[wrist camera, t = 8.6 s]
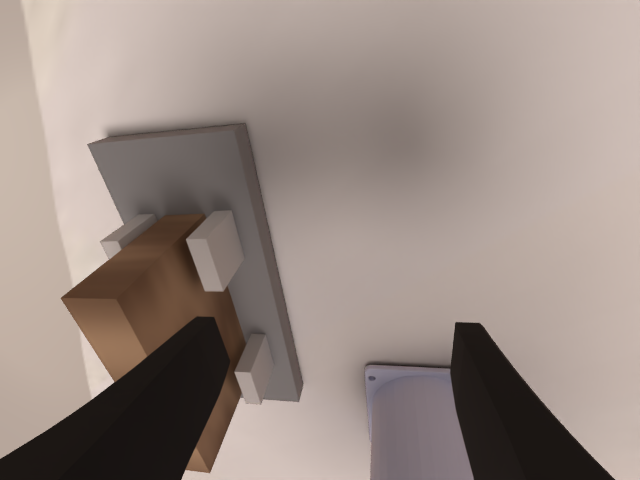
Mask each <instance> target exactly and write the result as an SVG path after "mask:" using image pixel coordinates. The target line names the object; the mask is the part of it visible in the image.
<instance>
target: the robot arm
mask: <svg viewBox="0 0 640 480" xmlns="http://www.w3.org/2000/svg"><path fill="white" fill-rule="evenodd" d="M229 365H230V359H229V356H228V353H227V350H226V348H225V345H224V342H223V340H222V337H221V334H220V331H219V329H218V326H217V323H216V320H215V318H214V317H202V316H197V317H195V318H194V319H193V320H191V321H190V322H189V323H187V324H186V325H185V326H184V327H183V328H181V329H180V330H179V331H178V332H176V333H175V334H174V335H173V336H172V337H170V338H169V339H168V340H167V341H166V342H164V343H163V344H162V345H161V346H160V347H158V348H157V349H156V350H155V351H153V352H152V353H151V354H150V355H149V356H147V357H146V358H145V359H144V360H142V361H141V362H140V363H139V364H138V365H136V366H135V367H134V368H133V369H131V370H130V371H129V372H127V373H126V374H125V375H124V376H122V377H121V378H120V379H118V380H117V381H116V382H114V383H113V384H112V385H111V386H109V387H108V388H107V389H105V390H104V391H103V392H101V393H100V394H99V395H98V396H96V397H95V398H93V399H92V400H91V401H90V402H88V403H87V404H85V405H84V406H82V407H81V408H79V409H78V410H77V411H75V412H74V413H72V414H71V415H69V416H68V417H66V418H65V419H63V420H62V421H60V422H59V423H57V424H56V425H54V426H53V427H52V428H50V429H48V430H47V431H45V432H44V433H42V434H40V435H39V436H37V437H35V438H34V439H32V440H31V441H29V442H27V443H26V444H24V445H22V446H21V447H19V448H18V449H16V450H14V451H13V452H11V453H10V454H8V455H6V456H5V457H3V458H1V459H0V480H181V479H182V476H183V474H184V472H185V469H186V467H187V465H188V463H189V460H190V458H191V456H192V454H193V452H194V450H195V447H196V445H197V443H198V441H199V439H200V437H201V435H202V432H203V430H204V428H205V426H206V424H207V422H208V419H209V417H210V415H211V413H212V411H213V408H214V406H215V404H216V402H217V400H218V397H219V395H220V393H221V390H222V387H223V384H224V381H225V378H226V374H227V371H228V368H229ZM365 385H366V398H367V410H368V423H369V435H370V442H371V471H370V480H615V479H614V478H613V477H612V476H611V475H610V474H609V473H608V472H607V471H606V470H605V469H604V468H603V467H602V466H601V465H600V464H599V463H598V462H597V461H596V460H595V459H594V458H593V457H592V456H591V455H590V454H589V453H588V452H587V451H586V450H585V449H584V448H583V447H582V445H581V444H580V443H579V442H578V441H577V440H576V439H575V438H574V437H573V436H572V435H571V434H570V433H569V431H568V430H567V429H566V428H565V427H564V426H563V425H562V424H561V423H560V422H559V420H558V419H557V418H556V417H555V416H554V415H553V414H552V413H551V411H550V410H549V409H548V408H547V407H546V406H545V405H544V403H543V402H542V401H541V400H540V399H539V398H538V396H537V395H536V394H535V393H534V392H533V390H532V389H531V388H530V387H529V386H528V384H527V383H526V382H525V381H524V380H523V378H522V377H521V376H520V375H519V373H518V372H517V371H516V370H515V368H514V367H513V366H512V365H511V363H510V362H509V361H508V359H507V358H506V357H505V355H504V354H503V353H502V352H501V350H500V349H499V348H498V346H497V345H496V343H495V342H494V341H493V339H492V338H491V337H490V335H489V334H488V332H487V331H486V330H485V328H484V327H483V326H482V325H481V324H480V323H463V322H456V323H455V332H454V341H453V350H452V359H451V368H450V369H447V368H427V367H406V366H386V365H368V366H366V367H365Z"/></svg>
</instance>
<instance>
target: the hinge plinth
mask: <svg viewBox="0 0 640 480" xmlns="http://www.w3.org/2000/svg"><path fill="white" fill-rule="evenodd" d="M87 145H88V147H89V149H90V151H91V153H92V156H93V158H94V160H95V162H96V164H97V166H98V169H99V171H100V173H101V175H102V177H103V179H104V182H105V184H106V186H107V188H108V190H109V192H110V195H111V197H112V199H113V201H114V203H115V206H116V208H117V210H118V212H119V214H120V216H121V219H122V221H123V223H124V225H123V226H121V227H120V228H119V229H117V230H116V231H114V232H113V233H112V234H110V235H109V236H107V237H106V238H104V239H103V240H102V241H100V243H101V245H102V247H103V249H104V251H105V253H106V255H107V257H108V259H111V258H112V257H113V256H114V255H116V254H117V253H118V252H119V251H121V250H122V249H123V248H124V247H126V246H127V245H128V244H129V243H131V242H132V241H133V240H134V239H136V238H137V237H138V236H139V235H141V234H142V233H143V232H145V231H146V230H147V229H148V228H150V227H151V226H152V225H153V224H155V223H156V222H157V221H158V220H160V219H161V218H162V217H163V216H165V215H185V214H205V216H206V220H205V221H204V222H203V223H202V224H201V225H200V226H199V227H198V228H197V229H196V230H195V231H194V232H193V233H192V234H191V235H190V236H189V237H188V238H187V239H186V241H187V244H188V247H189V249H190V252H191V255H192V258H193V260H194V263H195V266H196V268H197V271H198V274H199V277H200V279H201V282H202V285H203V288H204V290H205V291H224V290H225V288H226V287H227V285H228V289H229V292H230V295H231V298H232V301H233V304H234V307H235V310H236V314H237V317H238V320H239V323H240V326H241V329H242V332H243V336H244V339H245V342H246V347H245V349H244V351H243V353H242V356H241V358H240V360H239V362H238V365H237V367H236V369H235V371H234V372H235V375H236V378H237V380H238V383H239V386H240V389H241V391H242V394H241V397H240V398H244V399H245V402H246V404H259V405H261V403H262V400H263V399H266V400H280V401H294V402H299V400H300V396H301V391H302V387H303V382H302V377H301V373H300V368H299V364H298V359H297V355H296V350H295V346H294V341H293V337H292V332H291V328H290V323H289V319H288V314H287V310H286V305H285V301H284V296H283V291H282V287H281V282H280V278H279V273H278V269H277V264H276V260H275V255H274V251H273V246H272V242H271V237H270V233H269V228H268V224H267V219H266V215H265V210H264V206H263V201H262V197H261V192H260V187H259V183H258V178H257V174H256V169H255V165H254V160H253V156H252V151H251V147H250V142H249V138H248V133H247V129H246V124H236V125H226V126H216V127H206V128H196V129H186V130H176V131H165V132H155V133H145V134H135V135H125V136H115V137H107V138H104V139H101V140H98V141H95V142H93V143H90V144H87Z"/></svg>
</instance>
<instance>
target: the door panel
mask: <svg viewBox="0 0 640 480" xmlns="http://www.w3.org/2000/svg"><path fill="white" fill-rule="evenodd" d="M205 220H206V216H205V214H185V215H165V216H163V217H162V218H161V219H160V220H158V221H157V222H156V223H155V224H153V225H152V226H151V227H150V228H148V229H147V230H146V231H145V232H143V233H142V234H141V235H139V236H138V237H137V238H136V239H134V240H133V241H132V242H131V243H129V244H128V245H127V246H126V247H124V248H123V249H122V250H121V251H119V252H118V253H117V254H116V255H114V256H113V257H112V258H111V259H109V260H108V261H107V262H106V263H104V264H103V265H102V266H100V267H99V268H98V269H97V270H95V271H94V272H93V273H92V274H90V275H89V276H88V277H87V278H85V279H84V280H83V281H82V282H80V283H79V284H78V285H77V286H75V287H74V288H73V289H72V290H70V291H69V292H68V293H67V294H65V295H64V296H63V297H62V298H61V299H62V301H63V303H64V304H65V305H66V307H67V309H68V310H69V312H70V313H71V315H72V317H73V318H74V320H75V321H76V323H77V324H78V326H79V327H80V329H81V331H82V332H83V334H84V335H85V337H86V338H87V340H88V341H89V343H90V344H91V346H92V348H93V349H94V351H95V352H96V354H97V355H98V357H99V358H100V360H101V362H102V363H103V365H104V366H105V368H106V369H107V371H108V372H109V374H110V376H111V377H112V379H113V380H114V382H116V381H117V380H118V379H120V378H121V377H122V376H124V375H125V374H126V373H127V372H129V371H130V370H131V369H133V368H134V367H135V366H136V365H138V364H139V363H140V362H141V361H142V360H144V359H145V358H146V357H147V356H149V355H150V354H151V353H152V352H153V351H155V350H156V349H157V348H158V347H160V346H161V345H162V344H163V343H164V342H166V341H167V340H168V339H169V338H170V337H172V336H173V335H174V334H175V333H176V332H178V331H179V330H180V329H181V328H183V327H184V326H185V325H186V324H187V323H189V322H190V321H191V320H193V319H194V318H195V317H197V316H202V317H214V318H215V320H216V323H217V326H218V329H219V331H220V334H221V337H222V340H223V342H224V345H225V348H226V350H227V353H228V356H229V359H230V365H229V368H228V371H227V374H226V378H225V381H224V384H223V387H222V390H221V393H220V395H219V397H218V400H217V402H216V404H215V406H214V408H213V411H212V413H211V415H210V417H209V419H208V422H207V424H206V426H205V428H204V430H203V432H202V435H201V437H200V439H199V441H198V443H197V445H196V447H195V450H194V452H193V454H192V456H191V458H190V460H189V463H188V465H187V467H186V469H185V470H190V471H198V472H206V473H210V472H211V469H212V467H213V464H214V462H215V459H216V457H217V454H218V452H219V449H220V447H221V444H222V442H223V439H224V437H225V434H226V432H227V429H228V427H229V424H230V422H231V419H232V417H233V414H234V412H235V409H236V407H237V404H238V402H239V399H240V397H241V394H242V391H241V389H240V386H239V383H238V380H237V378H236V375H235V372H234V371H235V369H236V367H237V365H238V362H239V360H240V358H241V356H242V353H243V351H244V349H245V347H246V342H245V339H244V336H243V332H242V329H241V326H240V323H239V320H238V317H237V314H236V310H235V307H234V304H233V301H232V298H231V295H230V292H229V289H228V285H227V287H226V288H225V290H224V291H205V290H204V288H203V285H202V282H201V279H200V277H199V274H198V271H197V268H196V266H195V263H194V260H193V258H192V255H191V252H190V249H189V247H188V244H187V241H186V239H187V238H188V237H189V236H190V235H191V234H192V233H193V232H194V231H195V230H196V229H197V228H198V227H199V226H200V225H201V224H202V223H203V222H204V221H205Z"/></svg>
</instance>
